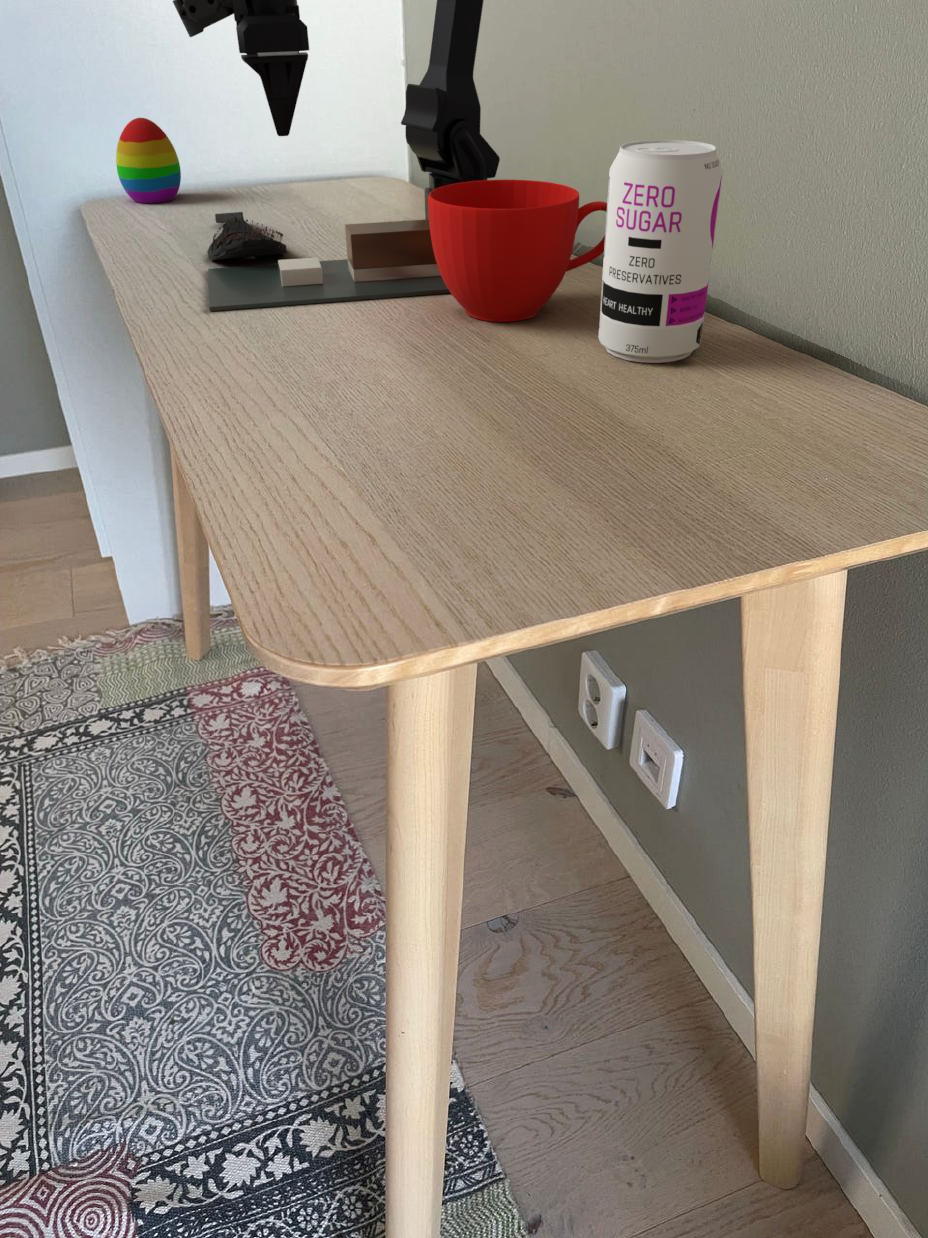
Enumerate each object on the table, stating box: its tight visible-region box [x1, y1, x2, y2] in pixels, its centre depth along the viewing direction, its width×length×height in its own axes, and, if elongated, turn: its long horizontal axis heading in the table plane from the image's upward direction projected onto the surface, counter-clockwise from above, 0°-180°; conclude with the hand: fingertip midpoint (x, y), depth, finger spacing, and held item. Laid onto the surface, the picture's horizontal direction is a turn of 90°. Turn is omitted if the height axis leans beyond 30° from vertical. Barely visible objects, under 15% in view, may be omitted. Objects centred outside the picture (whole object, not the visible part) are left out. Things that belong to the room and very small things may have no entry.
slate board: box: [207, 258, 451, 312], centre depth 97 cm, size 24×14×1 cm, turn 103°
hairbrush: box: [207, 211, 288, 261], centre depth 110 cm, size 8×4×25 cm
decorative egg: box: [115, 117, 182, 204], centre depth 130 cm, size 8×8×10 cm
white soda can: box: [597, 139, 724, 364], centre depth 75 cm, size 8×8×15 cm
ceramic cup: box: [428, 179, 607, 323], centre depth 86 cm, size 13×17×10 cm
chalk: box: [277, 256, 323, 287], centre depth 96 cm, size 4×4×2 cm
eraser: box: [344, 219, 441, 282], centre depth 97 cm, size 10×4×4 cm, turn 103°
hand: (281, 128), depth 98 cm, fingers open, 9 cm apart
